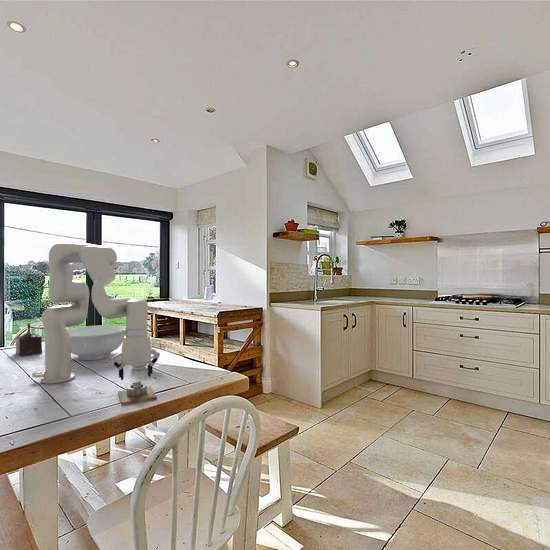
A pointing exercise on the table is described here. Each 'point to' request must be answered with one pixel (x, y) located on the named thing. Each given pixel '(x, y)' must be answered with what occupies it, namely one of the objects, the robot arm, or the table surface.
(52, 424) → the table surface
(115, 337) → the bowl
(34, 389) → the table surface
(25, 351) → the dark boxy spouted shape
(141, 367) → the teacup
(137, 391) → the ring
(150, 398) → the brown base with peg
